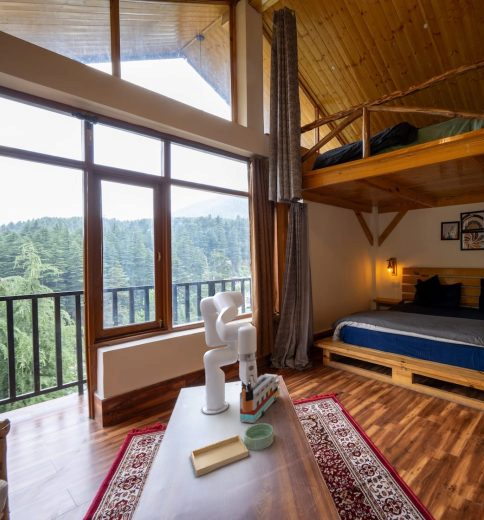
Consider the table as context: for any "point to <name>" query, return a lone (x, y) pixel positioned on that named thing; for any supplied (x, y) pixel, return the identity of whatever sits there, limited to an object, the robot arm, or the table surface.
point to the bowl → (259, 436)
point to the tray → (218, 455)
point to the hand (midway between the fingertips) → (247, 397)
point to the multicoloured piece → (261, 397)
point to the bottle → (246, 405)
